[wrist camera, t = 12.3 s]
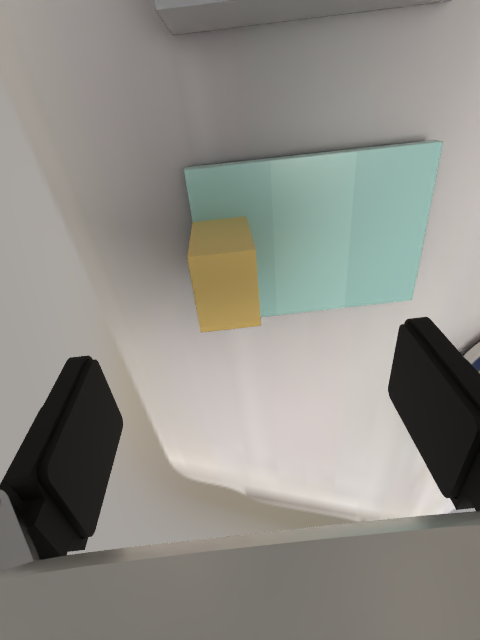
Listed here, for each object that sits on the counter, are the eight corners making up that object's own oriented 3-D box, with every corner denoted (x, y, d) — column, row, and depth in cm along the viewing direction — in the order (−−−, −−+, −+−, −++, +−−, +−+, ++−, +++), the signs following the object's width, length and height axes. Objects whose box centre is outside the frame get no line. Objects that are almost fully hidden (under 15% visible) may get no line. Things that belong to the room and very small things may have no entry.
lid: (425, 137, 20) (511, 156, 14) (399, 287, 25) (455, 345, 19) (186, 164, 20) (175, 193, 14) (209, 308, 25) (208, 373, 19)
